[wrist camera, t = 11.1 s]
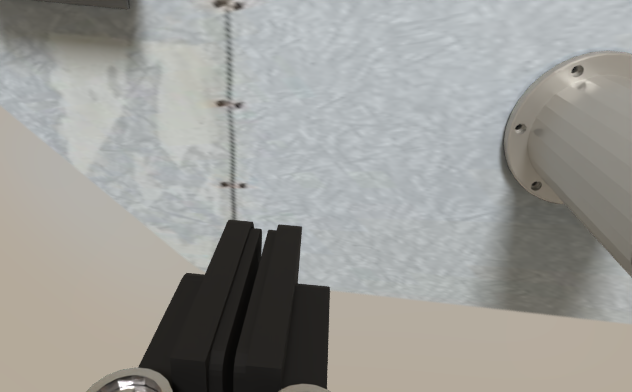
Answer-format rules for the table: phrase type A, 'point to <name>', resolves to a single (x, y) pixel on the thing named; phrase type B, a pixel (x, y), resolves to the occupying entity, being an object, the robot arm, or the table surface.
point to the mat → (96, 3)
